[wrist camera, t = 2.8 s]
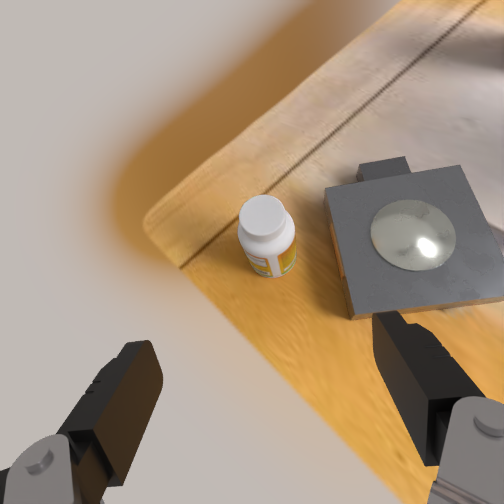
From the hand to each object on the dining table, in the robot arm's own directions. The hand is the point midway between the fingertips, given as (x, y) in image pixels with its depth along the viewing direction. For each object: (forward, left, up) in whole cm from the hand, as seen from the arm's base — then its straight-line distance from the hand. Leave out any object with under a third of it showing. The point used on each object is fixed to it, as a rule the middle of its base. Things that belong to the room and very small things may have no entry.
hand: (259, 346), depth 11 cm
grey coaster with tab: (-18, +4, -20) cm, 27 cm away
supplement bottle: (-10, -7, -20) cm, 24 cm away
